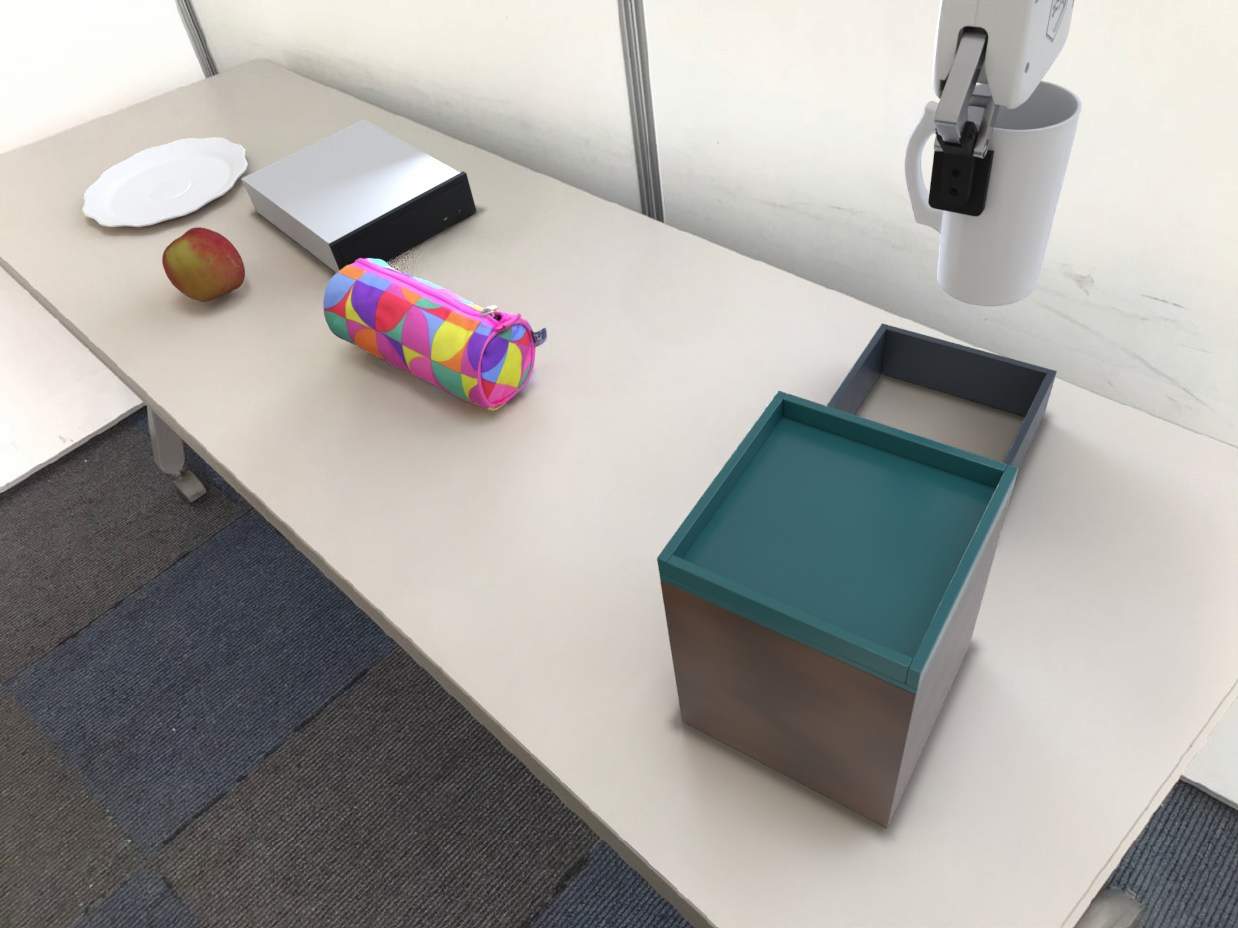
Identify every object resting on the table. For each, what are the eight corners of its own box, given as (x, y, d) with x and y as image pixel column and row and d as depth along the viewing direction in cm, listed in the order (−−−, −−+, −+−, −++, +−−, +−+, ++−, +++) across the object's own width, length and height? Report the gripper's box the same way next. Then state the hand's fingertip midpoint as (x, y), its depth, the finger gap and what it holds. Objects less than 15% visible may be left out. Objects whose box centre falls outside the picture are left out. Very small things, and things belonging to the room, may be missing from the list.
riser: (969, 646, 64) (1012, 491, 52) (887, 828, 56) (916, 695, 44) (778, 567, 70) (778, 413, 58) (681, 721, 62) (659, 580, 51)
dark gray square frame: (1043, 416, 77) (1057, 370, 73) (985, 539, 69) (997, 494, 66) (877, 367, 83) (881, 323, 79) (807, 474, 76) (809, 431, 72)
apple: (243, 265, 107) (212, 203, 101) (263, 299, 102) (232, 236, 96) (177, 292, 105) (142, 231, 99) (195, 328, 100) (159, 265, 94)
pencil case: (561, 368, 88) (544, 290, 82) (499, 431, 83) (475, 354, 77) (396, 306, 98) (368, 232, 92) (331, 359, 93) (298, 285, 87)
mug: (1060, 271, 62) (1103, 93, 54) (1009, 323, 59) (1047, 142, 50) (922, 228, 67) (942, 59, 59) (870, 272, 64) (883, 102, 56)
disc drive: (347, 284, 102) (331, 246, 98) (255, 213, 115) (238, 177, 111) (477, 212, 109) (467, 173, 105) (376, 152, 121) (364, 116, 118)
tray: (1012, 491, 52) (1019, 467, 50) (916, 695, 44) (920, 673, 43) (778, 413, 58) (778, 389, 57) (659, 580, 51) (656, 557, 49)
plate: (60, 208, 122) (53, 196, 121) (196, 135, 131) (191, 123, 130) (141, 255, 111) (134, 243, 110) (283, 172, 121) (278, 160, 120)
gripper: (1057, -89, 39) (992, 269, 52) (1156, -206, 48) (1080, 122, 61) (883, -97, 43) (862, 240, 55) (1007, -205, 52) (965, 106, 64)
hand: (977, 176), depth 58 cm, fingers closed on mug, 6 cm apart
